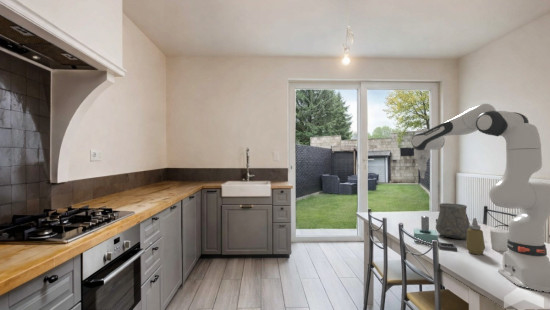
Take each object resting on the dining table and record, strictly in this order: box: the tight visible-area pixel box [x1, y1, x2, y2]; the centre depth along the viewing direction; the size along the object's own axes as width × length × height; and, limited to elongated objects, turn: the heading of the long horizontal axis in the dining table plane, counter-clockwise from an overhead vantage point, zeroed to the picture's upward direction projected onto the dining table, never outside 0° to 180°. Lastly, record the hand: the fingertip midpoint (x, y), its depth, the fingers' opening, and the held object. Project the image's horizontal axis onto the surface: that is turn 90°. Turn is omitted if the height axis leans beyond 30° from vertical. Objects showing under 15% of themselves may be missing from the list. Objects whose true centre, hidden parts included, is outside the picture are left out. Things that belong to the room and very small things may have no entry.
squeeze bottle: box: [465, 217, 486, 256], centre depth 145 cm, size 8×8×18 cm
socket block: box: [413, 228, 439, 244], centre depth 167 cm, size 12×12×5 cm
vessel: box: [435, 202, 471, 240], centre depth 174 cm, size 22×22×20 cm
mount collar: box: [437, 241, 458, 252], centre depth 153 cm, size 8×8×2 cm
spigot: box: [420, 215, 430, 233], centre depth 168 cm, size 4×4×14 cm
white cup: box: [489, 228, 509, 253], centre depth 150 cm, size 8×8×10 cm
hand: (422, 178), depth 172 cm, fingers open, 8 cm apart
